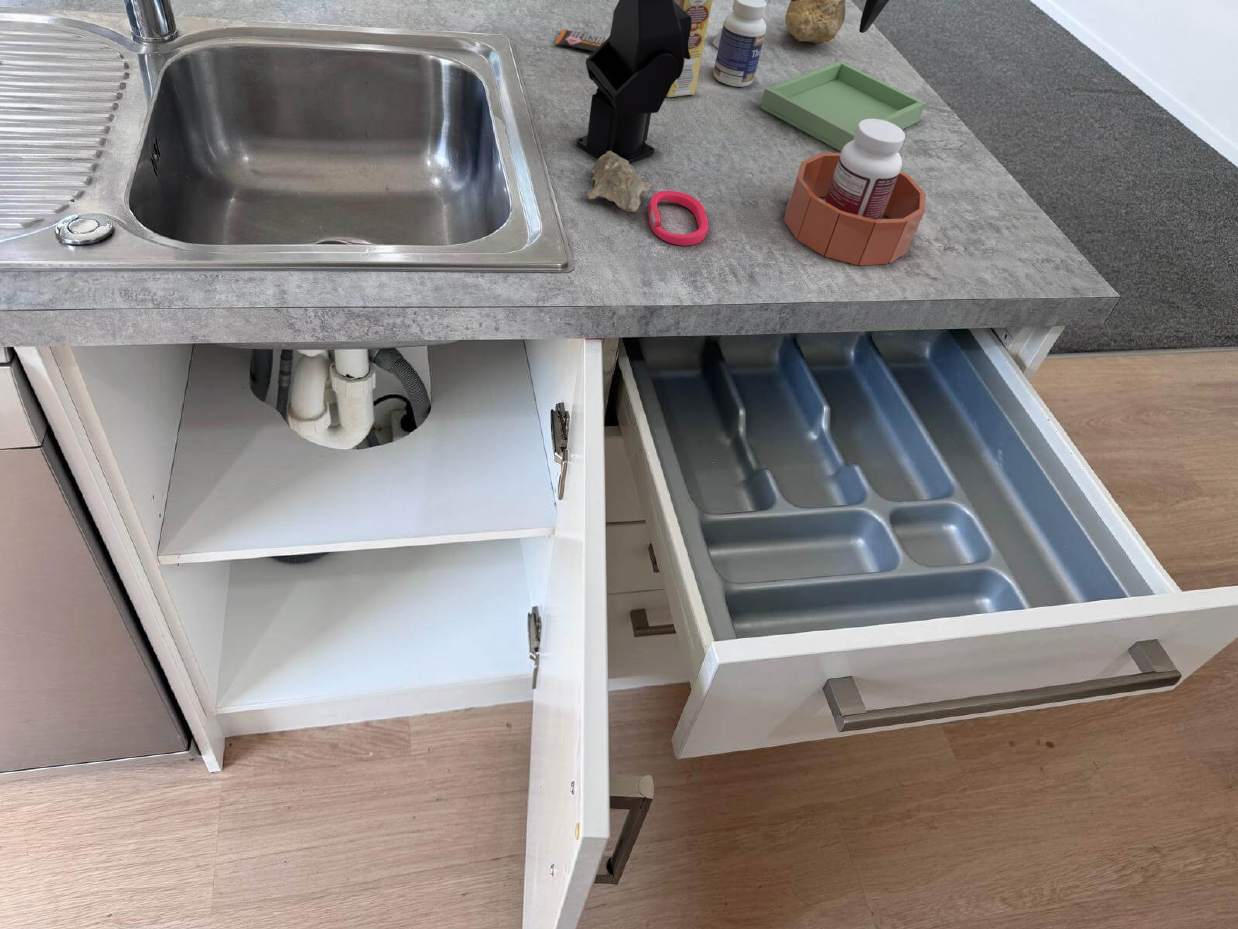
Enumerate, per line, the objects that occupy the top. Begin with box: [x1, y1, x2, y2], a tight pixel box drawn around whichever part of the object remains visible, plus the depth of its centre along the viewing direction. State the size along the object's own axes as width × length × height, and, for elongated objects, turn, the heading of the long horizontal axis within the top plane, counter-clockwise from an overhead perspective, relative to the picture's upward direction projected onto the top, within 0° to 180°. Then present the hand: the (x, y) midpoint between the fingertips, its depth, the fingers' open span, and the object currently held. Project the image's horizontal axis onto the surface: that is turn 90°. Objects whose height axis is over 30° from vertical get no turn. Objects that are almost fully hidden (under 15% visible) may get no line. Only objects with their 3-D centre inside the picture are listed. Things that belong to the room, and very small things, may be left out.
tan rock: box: [784, 0, 846, 45], centre depth 126 cm, size 14×8×8 cm
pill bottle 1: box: [713, 0, 767, 88], centre depth 112 cm, size 5×5×10 cm
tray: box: [759, 60, 927, 153], centre depth 111 cm, size 17×14×2 cm
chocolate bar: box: [554, 28, 608, 53], centre depth 115 cm, size 11×5×1 cm, turn 78°
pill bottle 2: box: [824, 119, 906, 219], centre depth 90 cm, size 6×6×11 cm
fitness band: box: [647, 190, 709, 247], centre depth 89 cm, size 8×6×2 cm
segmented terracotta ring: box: [783, 152, 927, 266], centre depth 92 cm, size 13×13×5 cm
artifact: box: [585, 151, 654, 213], centre depth 91 cm, size 7×3×10 cm
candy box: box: [666, 0, 713, 98], centre depth 106 cm, size 9×4×15 cm, turn 26°
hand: (827, 15), depth 96 cm, fingers open, 9 cm apart
